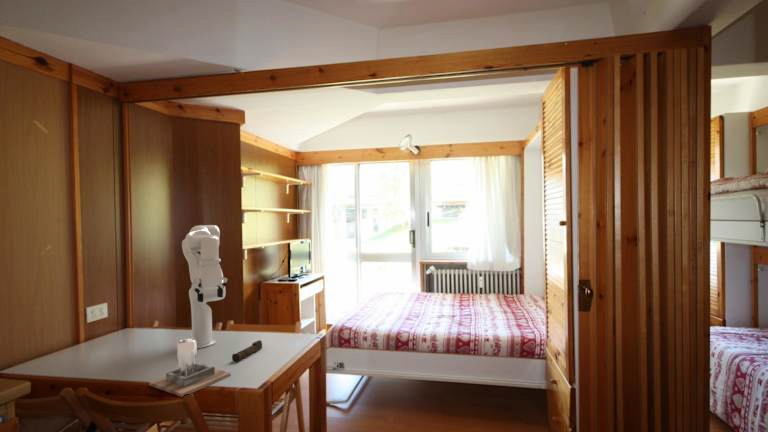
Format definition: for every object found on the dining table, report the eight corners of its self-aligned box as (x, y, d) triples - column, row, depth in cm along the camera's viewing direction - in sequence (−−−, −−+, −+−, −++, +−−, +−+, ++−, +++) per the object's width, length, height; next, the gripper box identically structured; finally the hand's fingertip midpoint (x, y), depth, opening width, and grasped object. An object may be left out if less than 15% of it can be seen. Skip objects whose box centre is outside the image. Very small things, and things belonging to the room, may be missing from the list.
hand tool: (238, 363, 160) (238, 352, 160) (231, 362, 162) (231, 351, 162) (266, 349, 178) (266, 339, 178) (260, 348, 179) (259, 338, 179)
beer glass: (177, 383, 137) (176, 344, 138) (178, 377, 143) (177, 339, 144) (197, 379, 140) (196, 341, 141) (197, 373, 147) (196, 336, 147)
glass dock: (149, 385, 139) (149, 374, 140) (197, 366, 157) (197, 357, 157) (182, 397, 129) (182, 385, 129) (230, 375, 146) (230, 365, 146)
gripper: (221, 260, 174) (222, 294, 174) (186, 264, 159) (187, 302, 159) (231, 260, 170) (232, 296, 170) (196, 265, 155) (197, 304, 156)
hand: (210, 299), depth 165 cm, fingers open, 9 cm apart
